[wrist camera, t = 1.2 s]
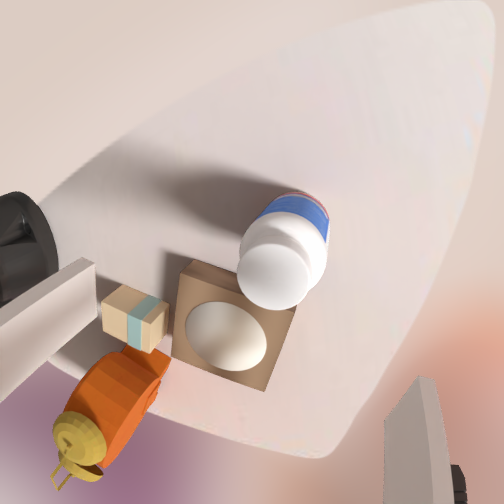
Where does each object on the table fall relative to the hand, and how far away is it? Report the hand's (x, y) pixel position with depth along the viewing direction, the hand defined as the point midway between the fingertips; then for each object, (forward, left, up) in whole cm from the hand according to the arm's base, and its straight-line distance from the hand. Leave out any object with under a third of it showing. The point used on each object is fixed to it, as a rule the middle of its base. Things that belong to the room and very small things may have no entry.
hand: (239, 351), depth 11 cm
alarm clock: (-13, -24, -16) cm, 32 cm away
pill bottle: (0, 0, -16) cm, 16 cm away
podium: (-3, -11, -16) cm, 20 cm away
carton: (-13, -14, -16) cm, 25 cm away
